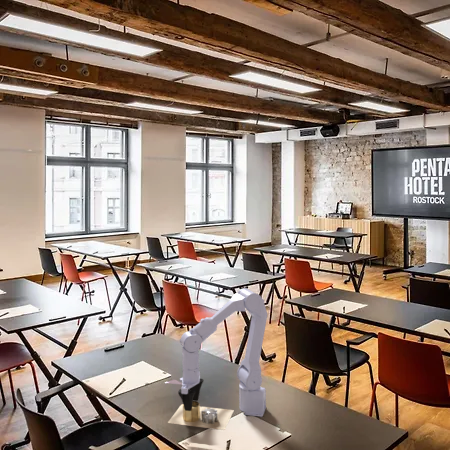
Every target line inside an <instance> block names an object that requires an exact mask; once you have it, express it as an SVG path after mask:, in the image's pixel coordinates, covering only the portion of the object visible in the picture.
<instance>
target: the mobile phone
mask: <svg viewBox="0 0 450 450" xmlns="http://www.w3.org/2000/svg"><path fill="white" fill-rule="evenodd" d="M164 383H165V384H172V385H182V382H180V380H177V379H172V380H169V381H166V382H165V381H164Z"/></svg>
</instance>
